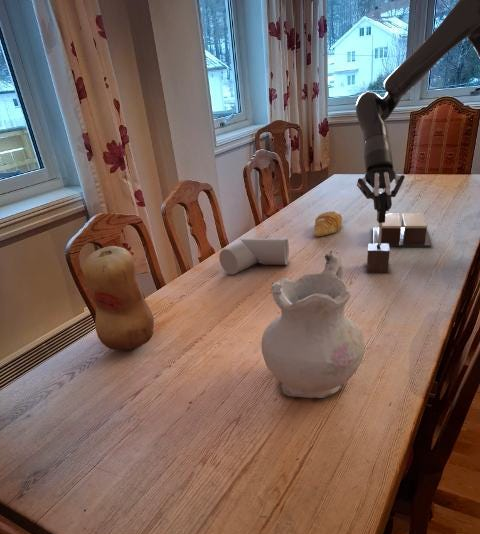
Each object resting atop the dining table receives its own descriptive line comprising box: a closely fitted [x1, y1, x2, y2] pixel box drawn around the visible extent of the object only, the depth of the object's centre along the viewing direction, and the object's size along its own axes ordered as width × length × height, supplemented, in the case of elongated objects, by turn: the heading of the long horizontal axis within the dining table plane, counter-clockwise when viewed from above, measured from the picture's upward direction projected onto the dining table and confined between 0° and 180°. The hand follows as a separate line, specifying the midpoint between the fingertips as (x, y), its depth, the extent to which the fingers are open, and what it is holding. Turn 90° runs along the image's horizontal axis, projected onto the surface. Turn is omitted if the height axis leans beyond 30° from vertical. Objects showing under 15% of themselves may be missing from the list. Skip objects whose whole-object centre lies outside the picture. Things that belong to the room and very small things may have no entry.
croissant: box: [313, 211, 343, 237], centre depth 164 cm, size 21×10×8 cm, turn 147°
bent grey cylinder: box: [218, 238, 290, 276], centre depth 138 cm, size 18×11×20 cm
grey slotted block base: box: [372, 212, 432, 249], centre depth 149 cm, size 18×18×7 cm
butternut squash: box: [83, 245, 155, 352], centre depth 99 cm, size 14×13×25 cm
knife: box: [376, 191, 387, 249], centre depth 124 cm, size 2×3×17 cm, turn 175°
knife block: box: [366, 242, 391, 274], centre depth 129 cm, size 6×6×7 cm
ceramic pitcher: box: [261, 250, 366, 399], centre depth 82 cm, size 22×20×25 cm
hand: (383, 209), depth 120 cm, fingers closed on knife, 2 cm apart
